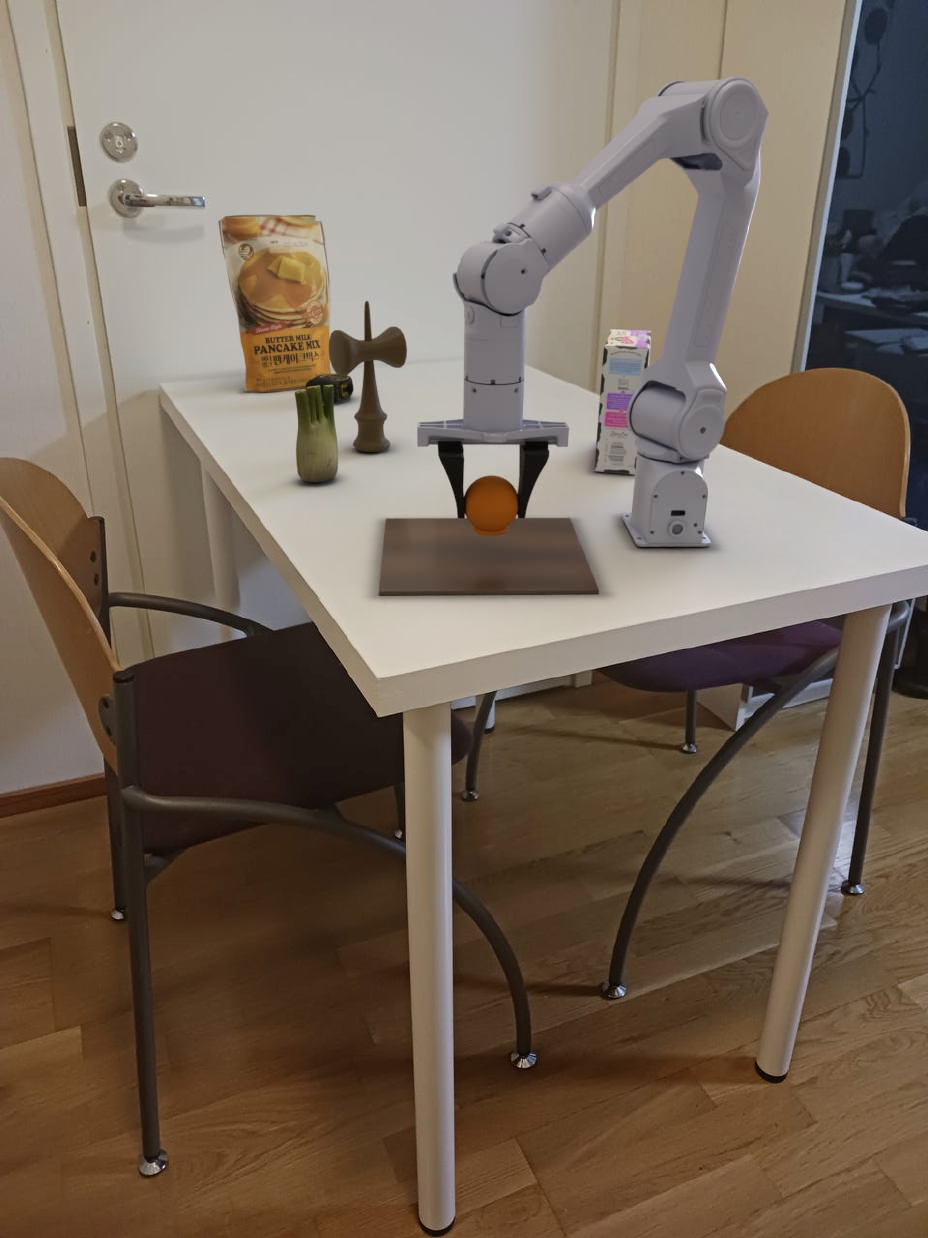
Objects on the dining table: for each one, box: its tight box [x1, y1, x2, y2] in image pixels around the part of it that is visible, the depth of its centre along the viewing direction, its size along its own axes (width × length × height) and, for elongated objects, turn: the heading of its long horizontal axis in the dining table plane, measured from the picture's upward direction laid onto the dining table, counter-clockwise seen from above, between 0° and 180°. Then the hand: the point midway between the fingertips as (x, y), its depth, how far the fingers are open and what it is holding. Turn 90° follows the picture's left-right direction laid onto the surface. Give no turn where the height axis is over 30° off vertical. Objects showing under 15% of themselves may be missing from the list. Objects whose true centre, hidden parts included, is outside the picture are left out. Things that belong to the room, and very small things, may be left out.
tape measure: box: [305, 373, 354, 402], centre depth 161 cm, size 7×7×4 cm
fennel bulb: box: [294, 385, 339, 484], centre depth 120 cm, size 6×5×12 cm
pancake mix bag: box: [217, 214, 332, 393], centre depth 164 cm, size 7×19×28 cm, turn 120°
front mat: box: [378, 517, 600, 596], centre depth 101 cm, size 20×21×1 cm
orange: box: [464, 474, 519, 536], centre depth 96 cm, size 6×6×6 cm
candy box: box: [594, 328, 652, 476], centre depth 129 cm, size 14×6×16 cm, turn 168°
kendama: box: [329, 300, 408, 453], centre depth 131 cm, size 6×10×20 cm, turn 123°
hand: (490, 514), depth 97 cm, fingers closed on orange, 5 cm apart
